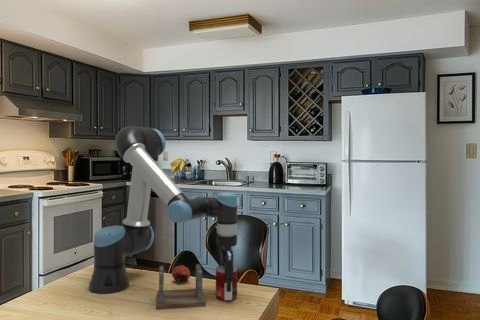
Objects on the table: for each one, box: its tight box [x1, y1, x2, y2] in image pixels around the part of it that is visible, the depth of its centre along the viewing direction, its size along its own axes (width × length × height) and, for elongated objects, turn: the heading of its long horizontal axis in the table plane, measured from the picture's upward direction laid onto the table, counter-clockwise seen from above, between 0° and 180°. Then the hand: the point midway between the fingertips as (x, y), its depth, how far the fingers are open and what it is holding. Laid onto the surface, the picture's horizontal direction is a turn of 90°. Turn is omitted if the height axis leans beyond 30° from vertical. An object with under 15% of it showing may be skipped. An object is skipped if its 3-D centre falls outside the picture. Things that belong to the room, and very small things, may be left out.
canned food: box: [215, 265, 238, 302], centre depth 142 cm, size 8×8×11 cm
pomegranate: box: [171, 263, 191, 285], centre depth 158 cm, size 7×7×10 cm
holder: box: [155, 263, 206, 311], centre depth 139 cm, size 14×17×12 cm
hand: (226, 295), depth 142 cm, fingers closed on canned food, 8 cm apart
